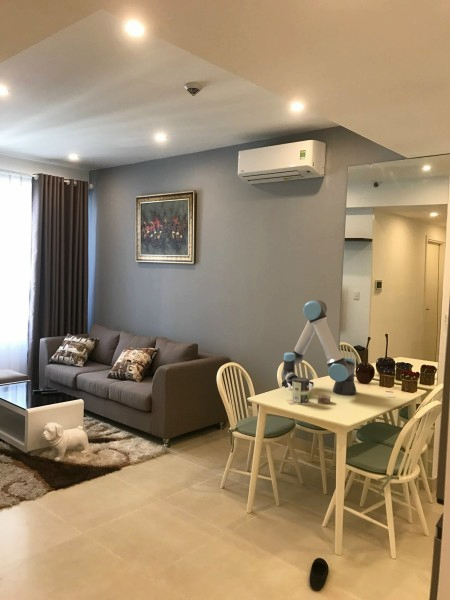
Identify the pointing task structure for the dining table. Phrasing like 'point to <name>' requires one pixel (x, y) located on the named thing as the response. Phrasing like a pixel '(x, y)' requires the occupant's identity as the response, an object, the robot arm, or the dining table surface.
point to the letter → (300, 404)
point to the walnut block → (324, 399)
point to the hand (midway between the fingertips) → (301, 387)
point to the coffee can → (300, 390)
